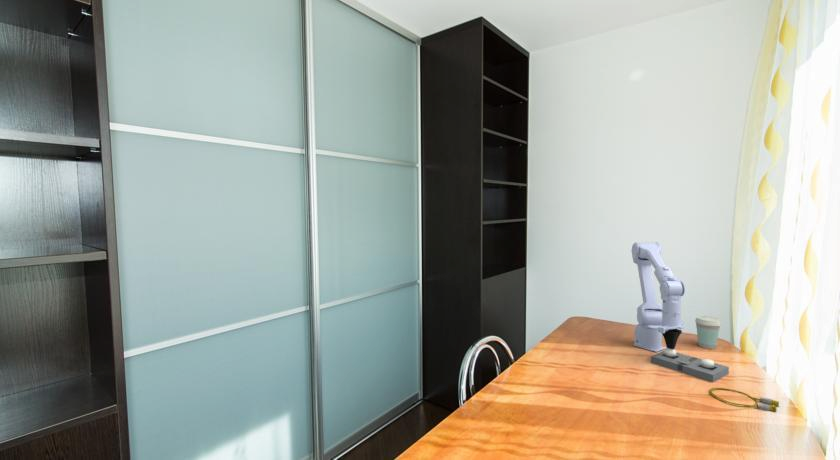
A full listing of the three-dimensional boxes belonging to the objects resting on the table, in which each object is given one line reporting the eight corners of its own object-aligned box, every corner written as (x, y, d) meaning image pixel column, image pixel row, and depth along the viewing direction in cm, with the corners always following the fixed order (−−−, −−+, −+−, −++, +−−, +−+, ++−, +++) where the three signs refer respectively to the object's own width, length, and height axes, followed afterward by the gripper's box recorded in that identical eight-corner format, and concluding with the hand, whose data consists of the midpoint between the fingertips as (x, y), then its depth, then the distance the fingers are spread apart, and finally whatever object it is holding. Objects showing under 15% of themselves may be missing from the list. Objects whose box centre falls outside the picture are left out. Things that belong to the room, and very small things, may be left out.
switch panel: (650, 362, 145) (650, 355, 145) (667, 355, 151) (667, 349, 151) (712, 382, 128) (713, 375, 128) (728, 373, 134) (728, 366, 134)
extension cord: (763, 419, 106) (763, 412, 106) (701, 395, 120) (701, 388, 120) (785, 409, 111) (785, 402, 111) (723, 387, 125) (723, 381, 125)
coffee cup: (711, 343, 164) (712, 315, 163) (725, 350, 156) (725, 321, 155) (690, 343, 165) (690, 315, 164) (702, 350, 156) (703, 321, 156)
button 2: (699, 365, 135) (699, 359, 135) (704, 363, 137) (704, 357, 137) (711, 368, 132) (711, 363, 132) (715, 366, 134) (716, 360, 133)
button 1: (662, 354, 145) (662, 349, 145) (667, 352, 147) (667, 347, 147) (673, 357, 142) (673, 352, 142) (678, 355, 144) (678, 350, 144)
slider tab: (678, 361, 138) (678, 354, 138) (681, 360, 139) (681, 352, 139) (686, 364, 136) (687, 356, 136) (690, 363, 137) (690, 355, 137)
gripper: (673, 318, 136) (672, 355, 137) (692, 312, 144) (691, 347, 145) (652, 313, 142) (651, 349, 143) (672, 308, 150) (671, 342, 151)
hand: (670, 348), depth 144 cm, fingers closed
